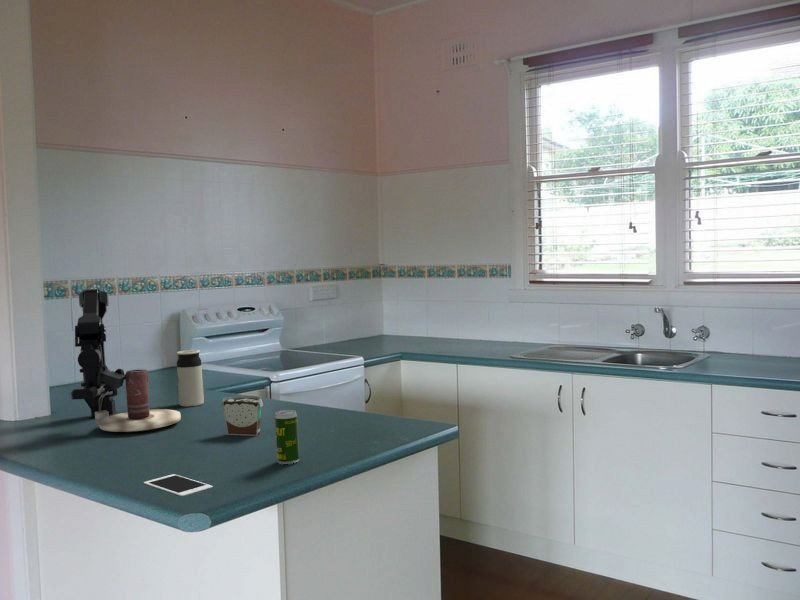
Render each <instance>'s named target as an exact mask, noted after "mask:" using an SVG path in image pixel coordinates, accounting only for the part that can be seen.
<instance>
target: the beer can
mask: <svg viewBox="0 0 800 600" xmlns="http://www.w3.org/2000/svg"><path fill="white" fill-rule="evenodd" d="M274 413H275V414H274V432H275V434H274V435H275V448H276V451H275V452H276V461H277V463H278V464H279V465H283V464H288V465H294V464H296V462H297V463H298V462H299V461H300V441H299V425H298V424H299V423H298V414H297V411H296V410H294V409H293V410H292V409H284V410H278V411H276V412H274ZM293 463H294V464H293Z"/></svg>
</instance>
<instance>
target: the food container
mask: <svg viewBox="0 0 800 600" xmlns="http://www.w3.org/2000/svg"><path fill="white" fill-rule="evenodd" d="M220 406H221V407H223V415H224V421H225V426H226V432H227V433H226V434H227V436H249V437H250V436H251V437H258V436H259V435H260V434H261V409H262V407H263V406H264V403H263V400H262V397H261V396H257V395H236V396H228V397H224V398H222V401H221V403H220Z"/></svg>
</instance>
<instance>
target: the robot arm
mask: <svg viewBox="0 0 800 600" xmlns="http://www.w3.org/2000/svg"><path fill="white" fill-rule="evenodd" d="M109 303H110V302H109V294H108V292H106V291H103V290H101V289H98V288H91V289H89V288H88V289H84V290H82V292H80V293H78V304H79V307H80V308H81V309H82V315H81V316H80V317H79V318H78V319H77V323H76V325H75V326H74V347H75V348H78V347H80V353H79V354H78V356H77V363H78V365H79V367H80V369H79V373H82V379H83V382H80V386H78V387H76V388H74V389H73V390H72V391H71V392H70V397H71V398H70V399H71V400H84V402H85V403H86V404H87V406H88V407H89V409H90V414H91V415H89V416H88V418H93V419H95V412H97V411H104V410H106V411H108V412H109V416H112V415H115V414H117V411H116V401H115V399H114V397H116V396H118V389H120V388H121V387H123V385H124V383H125V382H124V381H126V380H125V379H126V377H125V371H124V369H122V368H117V369H116V370H115V371H114V370H112V371H111V369H109V367H108V366H107V365H106V352H105V342H107V327H106V326H105V324H104V322H103V319H104V317H105V315H106V314H107V312H108V307H109Z"/></svg>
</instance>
